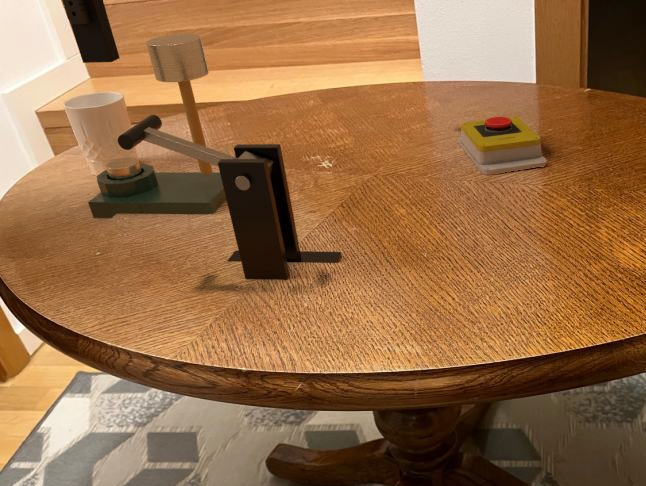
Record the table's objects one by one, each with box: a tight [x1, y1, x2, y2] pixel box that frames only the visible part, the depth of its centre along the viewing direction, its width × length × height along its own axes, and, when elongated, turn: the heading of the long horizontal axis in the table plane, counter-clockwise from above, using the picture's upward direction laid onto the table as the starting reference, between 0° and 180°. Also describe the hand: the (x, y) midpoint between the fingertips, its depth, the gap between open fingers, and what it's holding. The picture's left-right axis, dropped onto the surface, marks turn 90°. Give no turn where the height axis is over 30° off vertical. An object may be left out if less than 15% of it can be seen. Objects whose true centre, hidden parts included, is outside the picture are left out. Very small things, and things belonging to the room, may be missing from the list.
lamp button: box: [106, 158, 142, 180], centre depth 94 cm, size 4×4×2 cm
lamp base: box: [87, 163, 227, 219], centre depth 94 cm, size 16×10×4 cm, turn 84°
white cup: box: [62, 91, 139, 177], centre depth 104 cm, size 8×8×10 cm
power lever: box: [118, 114, 273, 176], centre depth 69 cm, size 13×6×2 cm, turn 83°
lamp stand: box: [145, 33, 213, 175], centre depth 88 cm, size 6×6×16 cm
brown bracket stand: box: [217, 143, 343, 281], centre depth 73 cm, size 12×9×14 cm
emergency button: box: [457, 115, 548, 176], centre depth 104 cm, size 9×4×15 cm
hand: (101, 60), depth 65 cm, fingers closed
